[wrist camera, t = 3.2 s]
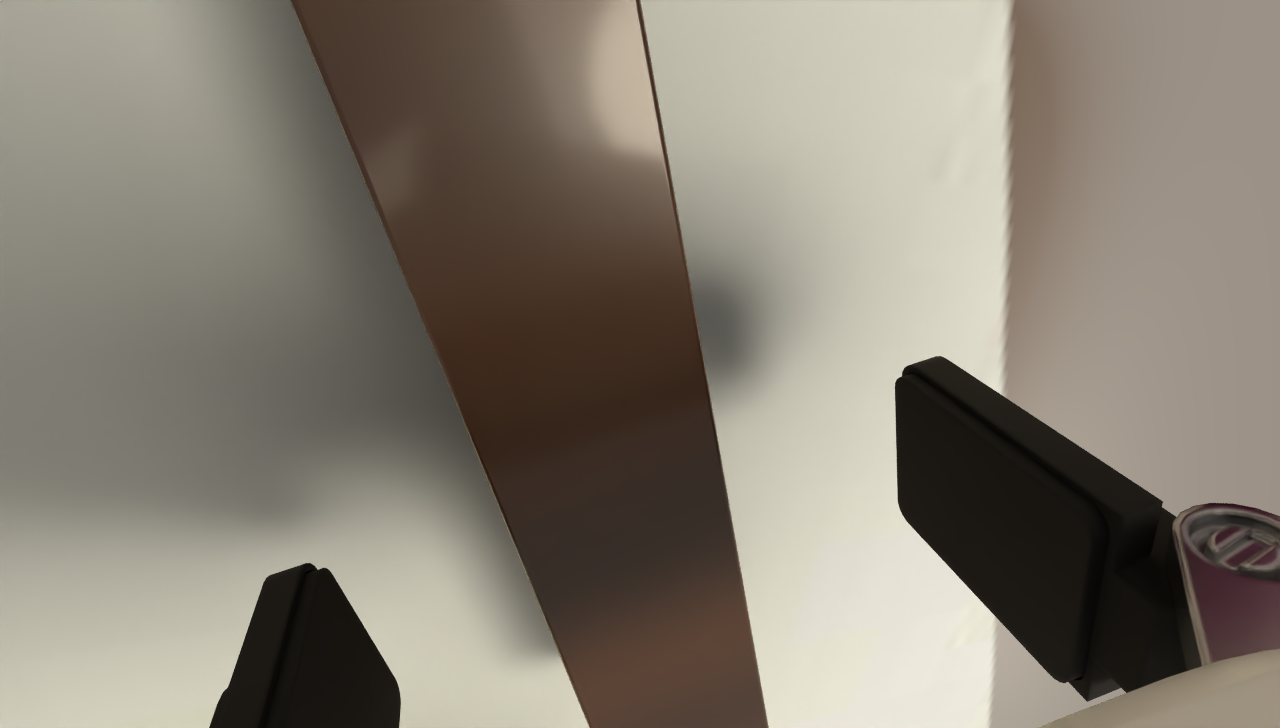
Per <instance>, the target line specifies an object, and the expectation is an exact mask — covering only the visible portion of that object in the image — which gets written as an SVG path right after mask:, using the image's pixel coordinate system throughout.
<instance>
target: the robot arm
mask: <svg viewBox="0 0 1280 728" xmlns="http://www.w3.org/2000/svg"><path fill="white" fill-rule="evenodd" d="M895 405H896V445H897V486H898V504H899V507H900V510H901V512H902V515H903V516H904V518H905V519H906V521H907V522H908V523H909V524H910V525H911V526H912V527H913V528H914V530H915V531H916V532H917V533H918V534H919V535H920V536H921V537H922V538H923V539H924V540H925V541H926V542H927V543H928V545H929V546H930V547H931V548H932V549H933V550H934V551H935V552H936V553H937V554H938V555H939V556H940V557H941V558H942V560H943V561H944V562H945V563H946V564H947V565H948V566H949V567H950V568H951V569H952V570H953V571H954V572H955V573H956V575H957V576H958V577H959V578H960V579H961V580H962V581H963V582H964V583H965V584H966V585H967V586H968V587H969V588H970V590H971V591H972V592H973V593H974V594H975V595H976V596H977V597H978V598H979V599H980V600H981V601H982V602H983V604H984V605H985V606H986V607H987V608H988V609H989V610H990V611H991V612H992V613H993V614H994V615H995V616H996V617H997V619H998V620H999V621H1000V622H1001V623H1002V624H1003V625H1004V626H1005V627H1006V628H1007V629H1008V630H1009V631H1010V632H1011V634H1013V636H1014V637H1015V638H1016V639H1017V640H1018V641H1019V642H1020V643H1021V644H1022V645H1023V646H1024V647H1025V648H1026V650H1027V651H1028V652H1029V653H1030V654H1031V655H1032V656H1033V657H1034V658H1035V659H1036V660H1037V661H1038V662H1039V664H1040V665H1042V667H1043V668H1044V669H1045V670H1046V671H1047V672H1048V673H1049V674H1050V675H1051V676H1052V677H1053V678H1054V679H1056V680H1058V681H1059V682H1062V683H1066V682H1069V683H1070V684H1071V685H1072V686H1073V687H1074V688H1075V689H1076V690H1077V692H1079V694H1080V695H1081V696H1083V698H1084V699H1085V700H1086V701H1090V700H1092V699H1095V698H1097V697H1100V696H1102V695H1105V694H1107V693H1109V692H1112V691H1114V690H1117V689H1119V688H1122V689H1123V690H1124V691H1125V692H1126V694H1123V695H1120V696H1118V697H1115V698H1113V699H1110V700H1107V701H1105V702H1102V703H1100V704H1097V705H1094V706H1092V707H1089V708H1087V709H1084V710H1081V711H1079V712H1076V713H1074V714H1071V715H1068V716H1066V717H1063V718H1061V719H1058V720H1056V721H1053V722H1051V723H1048V724H1046V725H1044V726H1041V727H1039V728H1280V516H1278V515H1275V514H1272V513H1269V512H1266V511H1263V510H1260V509H1257V508H1253V507H1248V506H1243V505H1237V504H1228V503H1225V504H1224V503H1209V504H1203V505H1196V506H1193V507H1191V508H1189V509H1187V510H1185V511H1183V512H1181V513H1180V514H1179V515H1178V516H1177V517H1176V516H1174V515H1173V514H1171V513H1170V512H1168V511H1167V510H1165V509H1164V508H1162V503H1163V502H1162V501H1161V500H1160V499H1158V498H1157V497H1155V496H1154V495H1152V494H1151V493H1149V492H1148V491H1146V490H1144V489H1143V488H1142V487H1140V486H1139V485H1137V484H1135V483H1134V482H1132V481H1131V480H1129V479H1128V478H1126V477H1125V476H1123V475H1122V474H1120V473H1119V472H1117V471H1116V470H1114V469H1113V468H1111V467H1110V466H1108V465H1107V464H1105V463H1104V462H1102V461H1101V460H1099V459H1098V458H1096V457H1095V456H1093V455H1091V454H1090V453H1088V452H1087V451H1085V450H1084V449H1082V448H1081V447H1079V446H1078V445H1076V444H1075V443H1073V442H1072V441H1070V440H1069V439H1067V438H1066V437H1064V436H1063V435H1061V434H1059V433H1058V432H1057V431H1055V430H1053V429H1052V428H1051V427H1049V426H1048V425H1046V424H1044V423H1043V422H1041V421H1040V420H1038V419H1037V418H1035V417H1034V416H1032V415H1031V414H1029V413H1028V412H1026V411H1025V410H1023V409H1022V408H1020V407H1019V406H1017V405H1016V404H1014V403H1013V402H1011V401H1010V400H1008V399H1007V398H1005V397H1004V396H1002V395H1000V394H999V393H997V392H996V391H994V390H993V389H991V388H990V387H988V386H987V385H985V384H984V383H982V382H981V381H979V380H978V379H976V378H975V377H973V376H972V375H970V374H969V373H967V372H966V371H964V370H963V369H961V368H960V367H958V366H956V365H955V364H953V363H952V362H950V361H949V360H947V359H946V358H944V357H941V356H936V357H933V358H930V359H927V360H924V361H921V362H918V363H915V364H912V365H909V366H907V367H905V368H904V370H903V372H902V377H900V378H898V379H897V380H896V383H895ZM400 707H401V699H400V692H399V687H398V684H397V681H396V679H395V677H394V676H393V674H392V672H391V671H390V669H389V667H388V666H387V664H386V662H385V661H384V659H383V657H382V656H381V654H380V652H379V651H378V649H377V647H376V646H375V644H374V643H373V641H372V639H371V638H370V636H369V634H368V633H367V631H366V629H365V628H364V626H363V624H362V623H361V621H360V619H359V618H358V616H357V614H356V613H355V611H354V609H353V608H352V606H351V604H350V603H349V601H348V599H347V598H346V596H345V594H344V593H343V591H342V589H341V588H340V586H339V585H338V583H337V581H336V580H335V578H334V576H333V575H332V573H331V572H330V571H329V570H328V569H327V568H322V569H319V570H317V568H316V567H315V566H314V565H312V564H311V563H306V564H303V565H300V566H297V567H294V568H291V569H288V570H284V571H281V572H278V573H275V574H272V575H270V576H268V577H267V578H266V580H265V581H264V583H263V586H262V589H261V592H260V595H259V598H258V601H257V604H256V607H255V610H254V613H253V616H252V619H251V622H250V625H249V628H248V631H247V633H246V636H245V639H244V642H243V645H242V648H241V651H240V654H239V657H238V660H237V663H236V666H235V669H234V672H233V675H232V678H231V681H230V684H229V687H228V688H227V689H226V690H225V691H224V692H223V693H222V696H221V698H220V700H219V702H218V704H217V707H216V710H215V713H214V715H213V718H212V721H211V724H210V727H209V728H399V721H400Z"/></svg>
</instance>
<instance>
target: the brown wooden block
mask: <svg viewBox="0 0 1280 728" xmlns="http://www.w3.org/2000/svg"><path fill="white" fill-rule="evenodd" d="M290 3H291V5H292V8H293V10H294V12H295V15H296V17H297V20H298V22H299V24H300V27H301V29H302V32H303V34H304V37H305V39H306V41H307V44H308V46H309V49H310V51H311V54H312V56H313V58H314V61H315V63H316V66H317V68H318V71H319V73H320V75H321V78H322V80H323V83H324V85H325V88H326V90H327V92H328V95H329V97H330V100H331V102H332V104H333V107H334V109H335V112H336V114H337V117H338V119H339V121H340V124H341V126H342V129H343V131H344V134H345V136H346V138H347V141H348V143H349V146H350V148H351V151H352V153H353V155H354V158H355V160H356V163H357V165H358V168H359V170H360V172H361V175H362V177H363V180H364V182H365V184H366V187H367V189H368V192H369V194H370V197H371V199H372V201H373V204H374V206H375V209H376V211H377V214H378V216H379V218H380V221H381V223H382V226H383V228H384V231H385V233H386V235H387V238H388V240H389V243H390V245H391V248H392V250H393V252H394V255H395V257H396V260H397V262H398V264H399V267H400V269H401V272H402V274H403V277H404V279H405V281H406V284H407V286H408V289H409V291H410V294H411V296H412V298H413V301H414V303H415V306H416V308H417V311H418V313H419V315H420V318H421V320H422V323H423V325H424V328H425V330H426V332H427V335H428V337H429V340H430V342H431V344H432V347H433V349H434V352H435V354H436V357H437V359H438V361H439V364H440V366H441V369H442V371H443V374H444V376H445V378H446V381H447V383H448V386H449V388H450V391H451V393H452V395H453V398H454V400H455V403H456V405H457V407H458V410H459V412H460V415H461V417H462V420H463V422H464V424H465V427H466V429H467V432H468V434H469V437H470V439H471V441H472V444H473V446H474V449H475V451H476V454H477V456H478V458H479V461H480V463H481V466H482V468H483V471H484V473H485V475H486V478H487V480H488V483H489V485H490V487H491V490H492V492H493V495H494V497H495V500H496V502H497V504H498V507H499V509H500V512H501V514H502V517H503V519H504V521H505V524H506V526H507V529H508V531H509V534H510V536H511V538H512V541H513V543H514V546H515V548H516V551H517V553H518V555H519V558H520V560H521V563H522V565H523V567H524V570H525V572H526V575H527V577H528V580H529V582H530V584H531V587H532V589H533V592H534V594H535V597H536V599H537V601H538V604H539V606H540V609H541V611H542V614H543V616H544V618H545V621H546V623H547V626H548V628H549V631H550V633H551V635H552V638H553V640H554V643H555V645H556V647H557V650H558V652H559V655H560V657H561V660H562V662H563V664H564V667H565V669H566V672H567V674H568V677H569V679H570V681H571V684H572V686H573V689H574V691H575V694H576V696H577V698H578V701H579V703H580V706H581V708H582V711H583V713H584V715H585V718H586V720H587V723H588V725H589V727H590V728H769V727H768V721H767V716H766V710H765V704H764V699H763V693H762V687H761V682H760V676H759V670H758V665H757V659H756V653H755V648H754V642H753V636H752V631H751V625H750V619H749V614H748V608H747V602H746V597H745V591H744V585H743V580H742V574H741V568H740V562H739V557H738V551H737V545H736V540H735V534H734V528H733V523H732V517H731V511H730V506H729V500H728V494H727V489H726V483H725V477H724V472H723V466H722V460H721V455H720V449H719V443H718V438H717V432H716V426H715V421H714V415H713V409H712V404H711V398H710V392H709V387H708V381H707V375H706V370H705V364H704V358H703V353H702V347H701V341H700V336H699V330H698V324H697V319H696V313H695V307H694V302H693V296H692V290H691V284H690V279H689V273H688V267H687V262H686V256H685V250H684V245H683V239H682V233H681V228H680V222H679V216H678V211H677V205H676V199H675V194H674V188H673V182H672V177H671V171H670V165H669V160H668V154H667V148H666V143H665V137H664V131H663V126H662V120H661V114H660V109H659V103H658V97H657V92H656V86H655V80H654V75H653V69H652V63H651V58H650V52H649V46H648V41H647V35H646V29H645V24H644V18H643V12H642V6H641V1H640V0H290Z"/></svg>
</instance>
